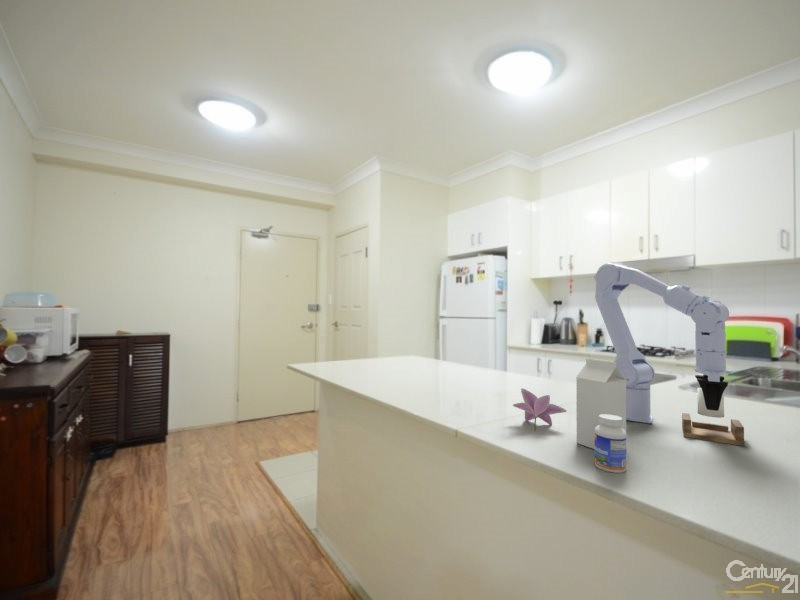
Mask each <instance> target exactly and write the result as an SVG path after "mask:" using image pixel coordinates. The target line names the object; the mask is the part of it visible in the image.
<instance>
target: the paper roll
mask: <svg viewBox="0 0 800 600" xmlns="http://www.w3.org/2000/svg"><path fill="white" fill-rule="evenodd" d="M696 389H697V397H696V398H697V399H696V400H697V414H699V415H700V416H704V417H709V418H716V419H717V418H719V419H720V418H725V391H724V392H723V395H722V398H721V402H720V407H719V410H718V411H715V410H707V408H706V405H705V401H704V395H703V391H702V388H700V387H697V388H696Z"/></svg>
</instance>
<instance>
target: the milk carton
mask: <svg viewBox="0 0 800 600" xmlns="http://www.w3.org/2000/svg"><path fill="white" fill-rule="evenodd" d="M585 360H586V362H585V364H584V366H583V367H582V369H580V371H579V373H578V374H577V376H576V444H579V445H580V446H584V447H587V448H590V449H593V450H595V427H596V426H598V425H600V423H599V415H601V414H610V415H616V416H619V417H621V418H622V420H623V425H622V426H621V428H622V429H624V430H625V432H626V433H627V420H626V379H625V378H624V377H623V375H622V374H621V373H620V372H619V370H618V369H617V368H616V362H614V361H609V360H608V361H607V360H600V359H594V358H593V359H592V358H586V359H585Z"/></svg>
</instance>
